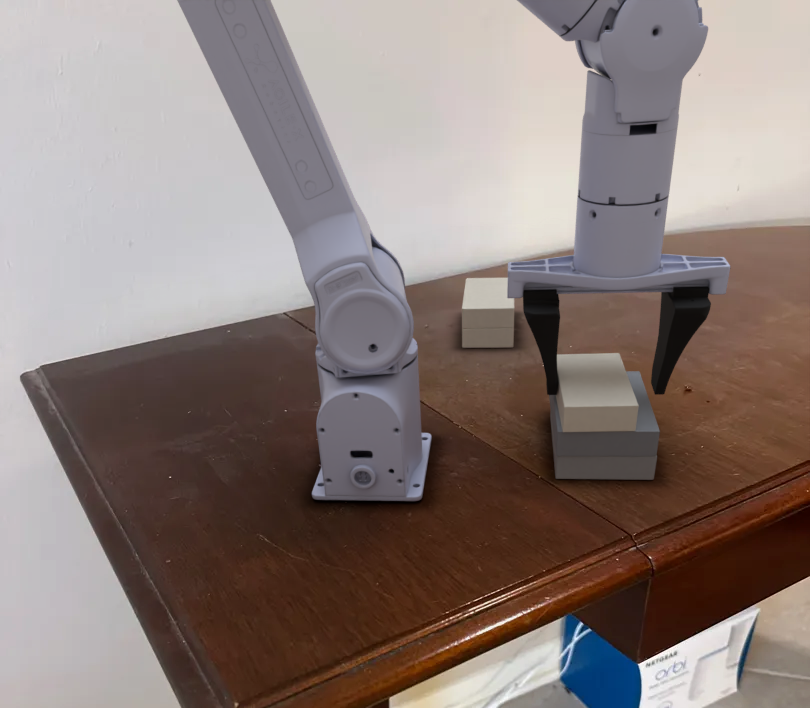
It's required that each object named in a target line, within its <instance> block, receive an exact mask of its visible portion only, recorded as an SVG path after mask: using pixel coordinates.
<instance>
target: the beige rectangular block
mask: <svg viewBox="0 0 810 708" xmlns="http://www.w3.org/2000/svg"><path fill="white" fill-rule="evenodd" d="M626 371H627V370H626V368H625V364H624V361H623V359H622V356H621V354H620V352H610V353H609V352H605V353H601V352H600V353H569V354H568V353H563V354H562V353H561V354H560V353H559V354H558V353H557V376H558V388H557V395H556V399H557V404H558V410H559V415H560V420H561V426H562V431H563V432H612V431H635V430H636V422H637V414H638V407H639V406H638V403H637V400H636V397H635V395H634V392H633V389H632V386H631V384H630V381H629V378H628V375H627V373H626Z"/></svg>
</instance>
